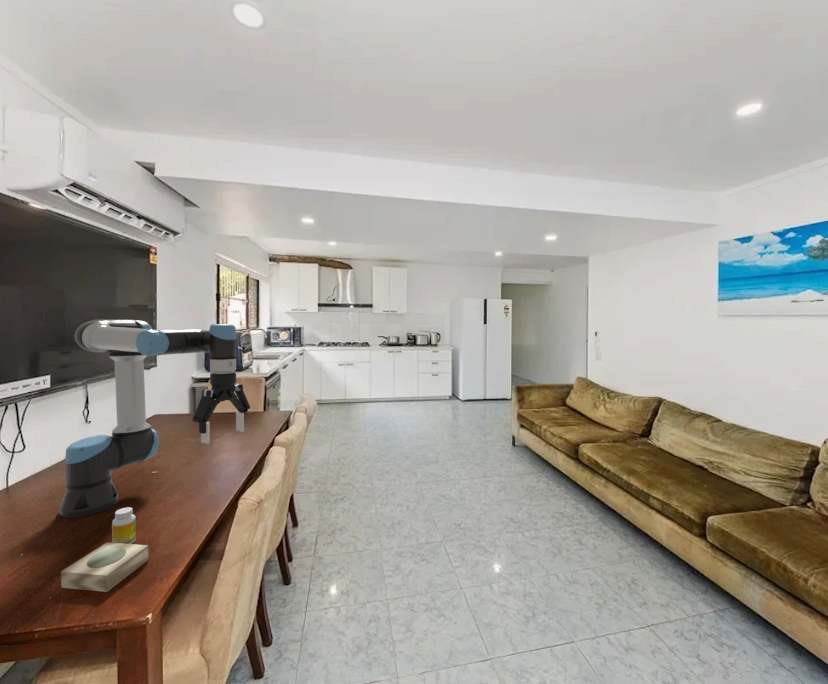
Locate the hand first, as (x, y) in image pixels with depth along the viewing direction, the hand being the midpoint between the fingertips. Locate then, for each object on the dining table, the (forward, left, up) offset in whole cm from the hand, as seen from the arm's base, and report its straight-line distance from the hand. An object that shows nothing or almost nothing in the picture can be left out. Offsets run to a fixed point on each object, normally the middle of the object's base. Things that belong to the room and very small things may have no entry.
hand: (223, 436), depth 119 cm
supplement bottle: (-15, -21, -27) cm, 38 cm away
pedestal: (-5, -31, -27) cm, 41 cm away
